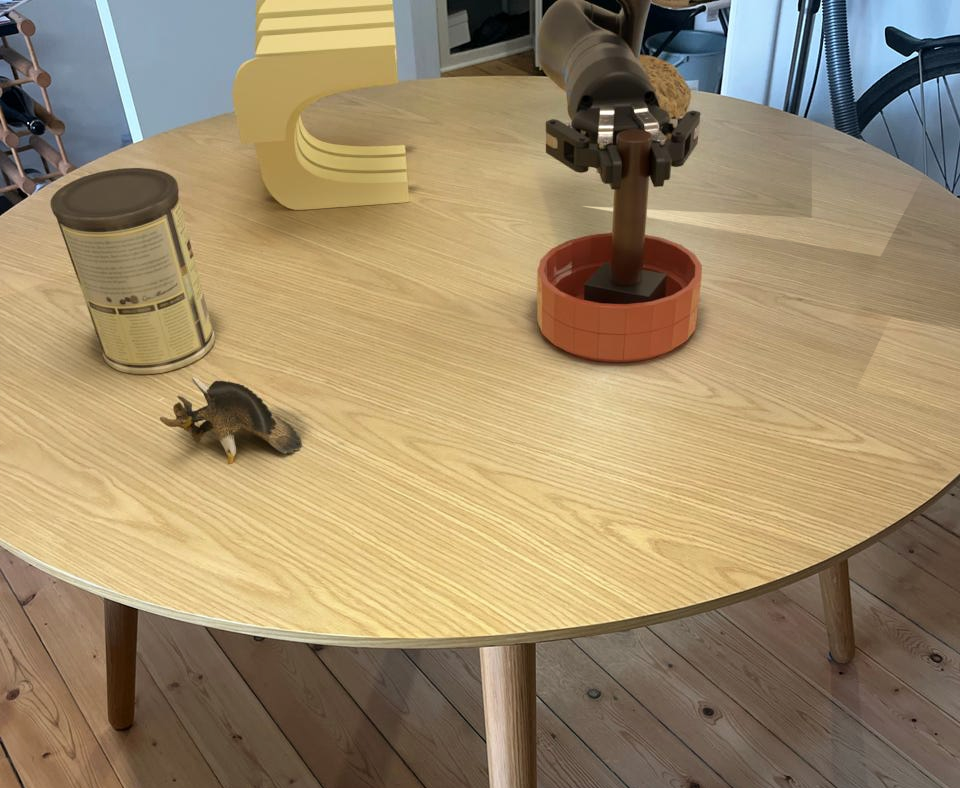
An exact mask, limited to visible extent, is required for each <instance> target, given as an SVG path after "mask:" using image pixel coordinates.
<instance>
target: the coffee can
mask: <svg viewBox="0 0 960 788" xmlns="http://www.w3.org/2000/svg"><path fill="white" fill-rule="evenodd" d="M179 189H180V188H179V184H178V182H177V179H176V178H175V177H174V176H173V175H171V174H169V173H168V172H165V171H162V170H158V169H154V168H147V167H146V168H144V167H126V168H117V169H115V168H114V169H109V170H104V171H103V170H102V171H99V172H95V173H90V174H88V175H85V176H82V177H80V178H77V179H75V180H72V181H71V182H69V183H67V184H65V185H63V186H62V187H60V188H59V189H58V190H57V191H55V193H54V194H53V195H52V197H51V199H50V202H49V203H50V208H51V211H52V214H53V216H54V217H55V218H56V221H57V224H58V226H59V229H60V232H61V235H62V238H63V241H64V244H65V248H66V250H67V253H68V255H69V259H70V261H71V265H72V267H73V270H74V272H75V275H76V278H77V281H78V284H79V287H80V290H81V293H82V296H83V298H84V299H83V300H84V302H85V304H86V307H87V310H88V313H89V317H90V320H91V322H92V325H93V328H94V331H95V333H96V336H97V339H98V342H99V345H100V348H101V351H102V357H103V359H104V361H105V362H106V364H107V365H108V366H109V367H111V368H113V369H114V370H117V371H119V372H122V373H126V374H132V375H153V374H154V375H157V374H162V373H167V372H171V371H174V370H175V371H176V370H178V369H181V368H183V367H187V366H189V365H190V364H192V363H194V362H196V361H198V360H200V359H201V358H203V357H204V356H205V355H206V354H207V353H209V352H210V350H211V349H212V347H213V346H214V343H215V340H216V334H215V331H214V329H213V325H212V323H211V318H210V315H209V311H208V306H207V303H206V298H205V294H204V290H203V287H202V283H201V279H200V275H199V271H198V268H197V264H196V259H195V255H194V251H193V247H192V244H191V240H190V235H189V232H188V228H187V225H186V220H185V216H184V213H183V209H182V205H181V200H180V197H179V193H180V192H179Z"/></svg>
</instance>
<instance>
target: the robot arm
mask: <svg viewBox="0 0 960 788" xmlns="http://www.w3.org/2000/svg"><path fill="white" fill-rule="evenodd" d="M615 1H616V2H617V3H618V4H619V5H620V6H621V9H620V10H619V13H615V12H613V11H611V10H608V9H605V8H603V7H601V6H599V5H596V4H594V3H591V2H588V1H586V0H556V1H555V2H554V3H553V4H552V5H551V6H549V7H548V9H547V10H546V12H545V13H544V15H543V17H542V19H541V21H540V23H539V27H538V30H537V38H536V50H537V51H536V53H537V59H538V63H539V65H540V67H541V69H542V71H543V73H544V74H545V75H546V76H547V77H548V79H550V80H551V81H552V82H553V84H555V85H556V86H557V87H558V88H559V89H561V90H562V91H563V92H565V93H566V105H567V107H566V110H567V114H568V117H569V119H570V120H571V123H570V122H565V123H564V122H562V121H561V120H558V119H556V118H555V119H554V118H551V119H548V120H546V121H545V153H546V154H547V155H549V156H550V157H552V158H553V159H555V160H556V161H558V162H560V163H561V164H562V165H565V166H566V167H567V168H569V169H571V170H572V171H574V172H576V173H580V174H583V173H587V172H589V169H590V168H594V169H595V170H596V173H597V174H599V177H600V181H601V182H602V183H603V184H604V185H609V186H610V190H613V191H614V189H620V188H621V174H622V161H621V158H620V155H619V153H618V150H617V149H616V142H617V135H618V133H620V132H622V131H625V130H631V129H639V130H645V131H648V132H650V133H651V134H652V146H651V160H650V174H649V179H650V180H651V184H652V185H653V187H654V188H659V187H660V188H661V187H664V185H665V181H669V180H670V179H671V173H672V167H673V168H678V167H682V166H684V165H685V163H686V161H687V160H688V159H689V157H690V156H691V154H692V152H693V151H694V150H695V148H696V147H697V145H698V140H699V133H700V123H701V112H700V111H697V110H689V111H686V114H685V115H684V116H679V117H678V119H670V115H669V113H668V112H667V111H665V110H663V109H661V108H660V106H659V102H658V99H657V96H656V93H655V91H654V89H653V87H652V85H651V83H650V81H649V79H648V77H647V75H646V73H645V71H644V68H643V67H642V65H641V64H640V62H639V61H638V60H639V56H640V55H641V50H642V44H643V38H644V34H645V33H644V32H645V29H646V28H645V27H646V23H647V19H648V16H649V15H648V14H649V11H650V7H651V4H652V1H653V0H615ZM668 134H671V138H670V139H666V137H667V136H668Z"/></svg>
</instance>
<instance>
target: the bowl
mask: <svg viewBox="0 0 960 788" xmlns="http://www.w3.org/2000/svg"><path fill="white" fill-rule="evenodd" d="M611 245H612V232H606V233H605V232H604V233H597V234H596V233H595V234H588V235H584V236H580V237H577V238H573V239H569V240H567V241H565V242H563V243H560V244H559V245H556V246H555V247H552V248H551V249H549V251H548V252H547V253H545V255H543V257H541V258H540V260H539V264H538V267H537V271H536V273H537V274H536V276H537V278H536V279H537V282H536V283H537V284H536V285H537V286H536V287H537V289H536V291H537V292H536V294H537V295H536V297H537V300H536V301H537V303H536V304H537V311H536V312H537V324H538V327H539V330H540V332H541V334H542V335H543V336H544V337H545V338H546V339H547V340H548V341H549V342H550V343H552V345H554V346H556V347H558V348H560V349H561V350H563V351H564V352H566V353H568V354H571V355H573V356H576V357H579V358H583V359H586V360H589V361H590V360H591V361H596V362H604V363H629V362H638V361H645V360H649V359H653V358H655V357H659V356H662V355H664V354H666V353H668V352H671V351H673V350H674V349H676V348H677V347H679V346H681V345H683V344H684V343H685V342H687V341H688V339H689V338H690V337H691V336H692V334H693V333H694V332H695V330H696V327H697V321H698V320H697V318H698V310H699V301H700V293H701V286H702V279H703V278H702V277H703V275H702V274H703V264H702V263H701V262H700V260H699V258H697V256H696V254H695V253H694V252H692V251H691V250H690V249H688V248H686V247H685V246H683V245H682V244H680V243H677V242H675V241H672V240H669V239H666V238H663V237H660V236H654V235H649V234H645V244H644V258H643V270H647V271H652V272H657V273H663V274H667V280H666V291H665V298H661V299H658V300H655V301H651V302H643V303H634V304H603V303H597V302H592V301H587V300H584V286H585V283H586V282H587V281H588V280H589V279H590V278H591V277H592V275H593V274H594V273H595V272H596V271H597V270H598V269H599V268H600V267H601V266H602V265H603V264H604V263H609V264H611Z"/></svg>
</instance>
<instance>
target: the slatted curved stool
mask: <svg viewBox="0 0 960 788" xmlns="http://www.w3.org/2000/svg"><path fill="white" fill-rule="evenodd" d="M393 3H394V1H393V0H256V4H255V9H254V10H255V12H254V14H255V15H254V16H255V23H254V33H255V38H254V39H255V40H254V58H251V59H248V60H246V61H244V62H243V63H241V64H240V66H239V67H238V69H237V71H236V74H235V77H234V80H233V84H232V90H231V91H232V93H231V97H232V105H233V109H234V114H235V119H236V125H237V129H238V135H239V140H240V144H242V145H243V144H254V147H255V151H256V156H257V159H258V164H259V168H260V174H261V178H262V181H263V183H264V185H265V188H266V189H267V191H268V192H269V194H270V195H271V196H272V197H273V198H274V200H275V201H277V202H278V203H279V204H281V205H282V206H284V207H285V208H287V209H291V210H295V211H303V210H304V211H306V210H318V209H319V210H321V209H332V208H345V207H360V206H362V207H363V206H374V205H388V204H399V203H400V204H401V203H410V197H409V196H410V195H409V182H408V179H409V178H408V165H407V164H408V163H407V153H406V144H396V145H395V144H394V145H369V146H362V145H361V146H360V145H359V146H358V145H355V146H354V145H343V144H336V143H331V142H327V141H326V142H325V141H323V140H320V139H318V138H316V137H314V136H313V135H311V134H310V133H309V132H308V130H307V129H306V128H305V126H304V124H303V121H302V117H301V114H302V113H303V111H304V110H305V109H306V108H307V107H308V106H309V105H311V104H312V103H314V102H316V101H318V100H320V99H322V98H325V97H328V96H332V95H334V94H339V93H343V92H346V91H353V90H359V89H365V88H373V87H380V86H389V85H399V72H398V53H397V41H396V38H397V37H396V26H395V12H394V4H393Z"/></svg>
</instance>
